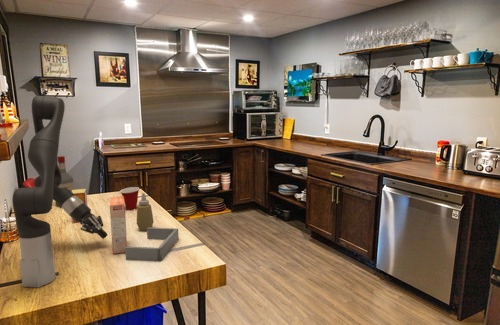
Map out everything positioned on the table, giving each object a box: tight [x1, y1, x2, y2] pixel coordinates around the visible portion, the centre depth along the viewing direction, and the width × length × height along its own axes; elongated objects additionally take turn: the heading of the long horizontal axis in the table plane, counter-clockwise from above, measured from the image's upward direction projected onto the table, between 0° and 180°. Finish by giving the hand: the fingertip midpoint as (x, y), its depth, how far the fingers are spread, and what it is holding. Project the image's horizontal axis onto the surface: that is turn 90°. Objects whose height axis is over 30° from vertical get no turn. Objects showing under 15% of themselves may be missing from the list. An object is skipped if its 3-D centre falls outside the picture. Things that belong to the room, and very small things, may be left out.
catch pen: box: [124, 227, 179, 262], centre depth 145 cm, size 22×14×5 cm, turn 174°
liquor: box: [54, 155, 75, 209], centre depth 206 cm, size 9×9×30 cm
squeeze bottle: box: [136, 192, 155, 232], centre depth 167 cm, size 8×8×18 cm
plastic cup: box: [119, 186, 140, 211], centre depth 200 cm, size 11×11×12 cm
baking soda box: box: [72, 188, 88, 224], centre depth 181 cm, size 10×6×16 cm
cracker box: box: [109, 195, 128, 255], centre depth 145 cm, size 14×6×21 cm, turn 21°
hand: (105, 236), depth 147 cm, fingers closed
